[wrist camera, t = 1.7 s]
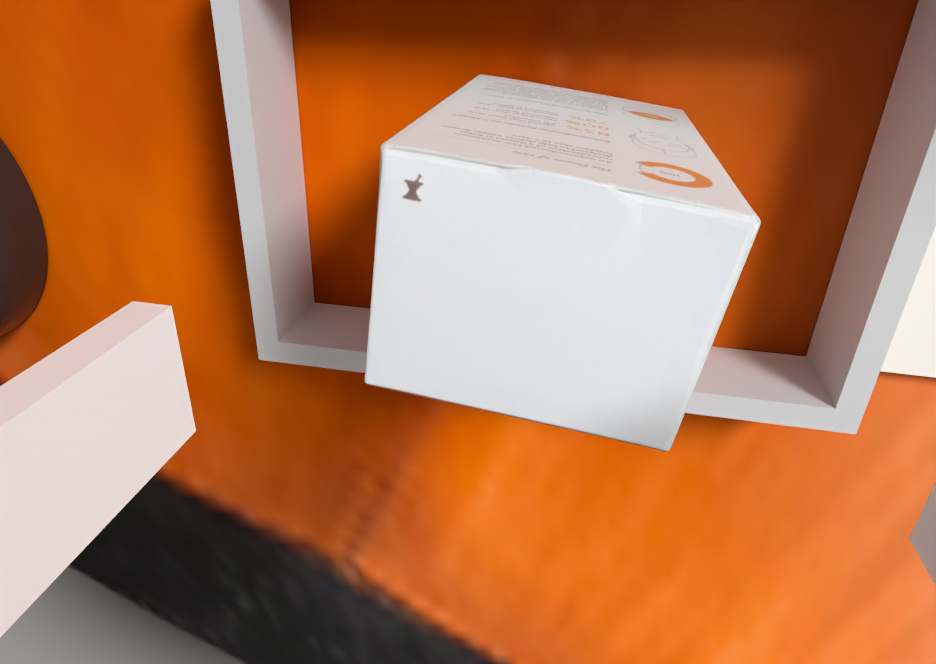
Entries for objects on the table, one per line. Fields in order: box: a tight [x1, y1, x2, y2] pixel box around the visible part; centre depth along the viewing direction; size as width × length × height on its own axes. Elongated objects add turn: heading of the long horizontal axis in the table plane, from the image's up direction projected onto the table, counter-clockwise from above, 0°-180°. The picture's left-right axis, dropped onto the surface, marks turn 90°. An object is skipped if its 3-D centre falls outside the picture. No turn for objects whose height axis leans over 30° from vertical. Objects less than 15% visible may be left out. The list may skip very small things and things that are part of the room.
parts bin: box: [210, 0, 936, 434], centre depth 24 cm, size 24×16×4 cm, turn 87°
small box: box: [364, 74, 761, 452], centre depth 20 cm, size 8×6×13 cm
